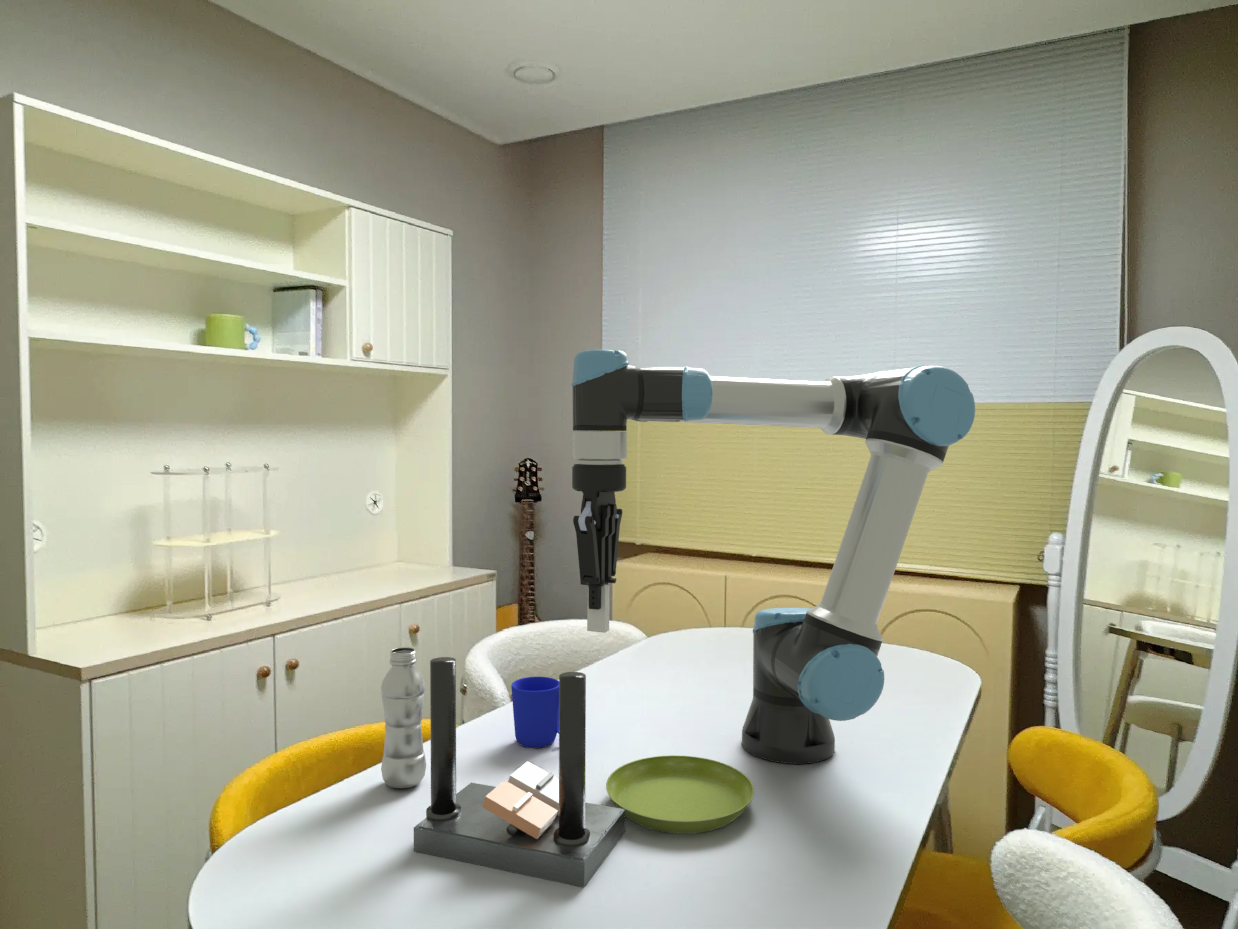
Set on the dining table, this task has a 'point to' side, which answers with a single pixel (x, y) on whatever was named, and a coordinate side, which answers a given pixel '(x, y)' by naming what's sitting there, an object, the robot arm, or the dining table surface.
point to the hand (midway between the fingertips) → (598, 630)
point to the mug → (536, 711)
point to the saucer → (680, 793)
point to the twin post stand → (462, 820)
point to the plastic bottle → (403, 721)
